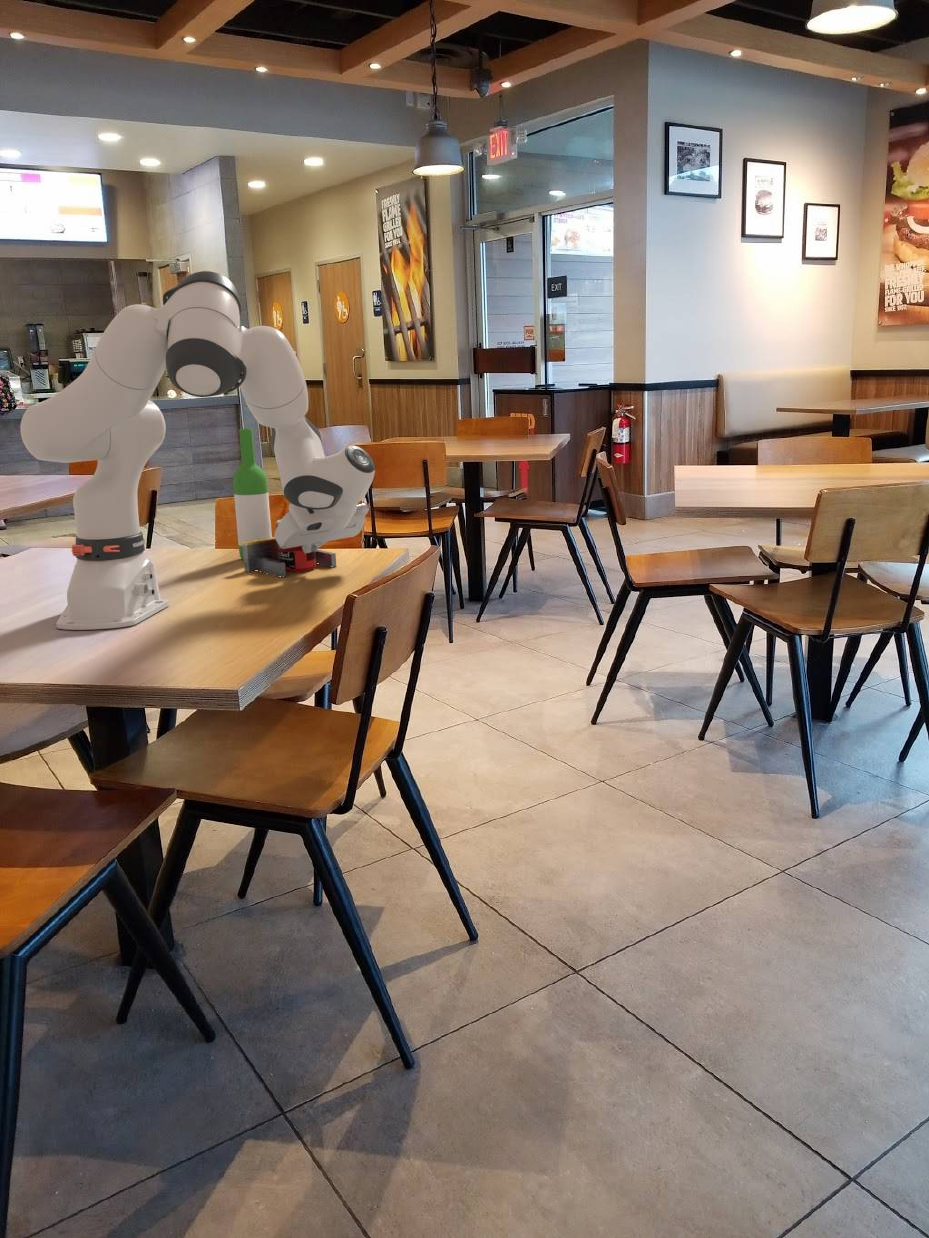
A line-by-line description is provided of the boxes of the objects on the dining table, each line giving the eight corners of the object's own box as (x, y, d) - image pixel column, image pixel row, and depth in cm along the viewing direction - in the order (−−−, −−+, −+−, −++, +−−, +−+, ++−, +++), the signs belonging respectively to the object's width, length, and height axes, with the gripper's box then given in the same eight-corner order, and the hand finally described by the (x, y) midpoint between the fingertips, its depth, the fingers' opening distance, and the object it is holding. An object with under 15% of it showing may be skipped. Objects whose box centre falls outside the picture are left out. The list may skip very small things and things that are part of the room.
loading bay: (343, 565, 214) (341, 536, 213) (273, 578, 203) (271, 548, 201) (312, 558, 223) (310, 530, 221) (244, 571, 211) (242, 542, 209)
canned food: (274, 568, 213) (270, 519, 210) (308, 564, 217) (305, 516, 214) (287, 574, 206) (283, 524, 203) (321, 569, 210) (318, 520, 207)
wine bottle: (257, 554, 230) (246, 427, 222) (280, 557, 225) (270, 428, 217) (232, 560, 223) (220, 430, 216) (256, 563, 219) (244, 430, 211)
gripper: (364, 492, 205) (341, 532, 215) (283, 503, 192) (262, 545, 202) (378, 514, 203) (354, 554, 213) (297, 527, 190) (275, 569, 200)
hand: (308, 550), depth 207 cm, fingers closed, pressing on canned food
